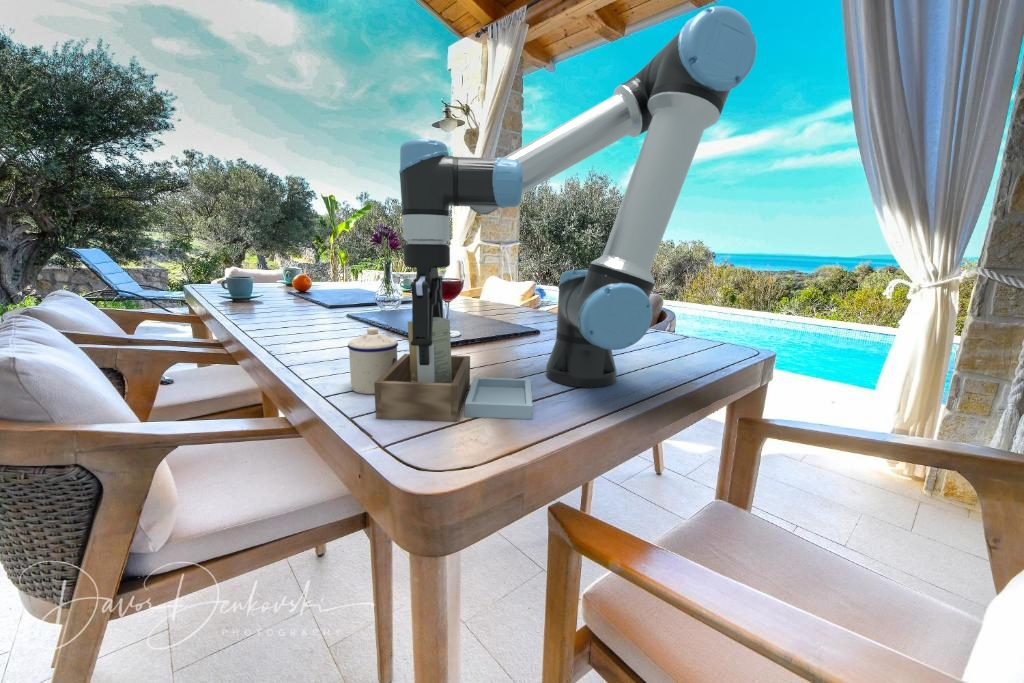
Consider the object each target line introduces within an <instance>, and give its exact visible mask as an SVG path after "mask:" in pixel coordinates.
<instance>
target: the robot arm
mask: <svg viewBox="0 0 1024 683" xmlns="http://www.w3.org/2000/svg"><path fill="white" fill-rule="evenodd" d="M750 23H751V22H749V20H748V19H747V18H746V17H745V16H744V15H743V14H742V13H741V12H739V11H738V10H737V9H734V8H732V7H729V6H724V5H715V6H711V7H708V8H705V9H703V10H702V11H699V13H697V14H696V15H695V16H693V17H692V18H690V19H688V20H687V21H686V22H685V24H684V25H683V26H682V28H681V29H680V30H679V32H678V33H676V34H675V36H674V37H673V38H671V40H669V41H668V43H666V45H664V46H663V47H662V48H661V49H660V50H659V51H658V52H657V53H656V54H655V55H654V56H653V57H652V58H651V60H650V61H648V63H647V64H645V66H643V67H642V68H641V69H640V70H639V71H637V73H636V74H634V75H633V76H632V77H630V78H629V79H628V80H627V81H625V82H623V83H621V84H619V85H618V86H616V87H615V89H614V91H613V94H612V96H610V97H608V98H607V99H605V100H603V101H602V102H599V103H597V104H596V105H594V106H592V107H591V108H588V109H587V110H585V111H584V112H582V113H580V114H578V115H576V116H574V117H573V118H571V119H569V120H567V121H565V122H563V123H562V124H560V125H559V126H556V127H555V128H553V129H551V130H549V131H548V132H546V133H544V134H542V135H541V136H539V137H537V138H535V139H534V140H532V141H530V142H528V143H526V144H525V145H523V146H520V147H519V148H518V149H516V150H514V151H512V152H510V153H509V154H507V155H505V156H504V157H502V156H498V157H474V156H472V157H465V156H464V157H463V156H462V157H461V156H453V155H450V153H449V152H448V146H447V145H446V144H445V143H444V142H442V141H441V140H437V139H429V138H413V139H412V138H411V139H408V140H405V141H404V142H403V143H402V144H401V146H400V150H399V151H400V152H399V155H400V156H399V157H400V158H399V161H400V162H399V167H400V168H399V171H398V173H399V180H400V181H399V182H400V196H401V197H400V198H401V215H402V221H401V222H399V228H402V236H403V240H404V241H407V244H404V246H403V262H404V266H405V267H406V268H412V269H413V268H415V269H416V274H415V275H416V278H414V279H413V281H411V282H410V288H411V298H412V299H411V302H412V303H411V304H412V305H411V308H412V312H411V313H412V315H411V317H412V318H411V321H412V330H413V339H412V341H411V346H416V348H417V373H418V382H425V383H434V382H435V372H434V344H432V326H433V317H440V318H444V306H443V305H444V302H443V276H442V275H439V270H438V269H442V268H443V269H445V268H448V267H449V266H450V265H451V256H450V254H451V253H450V252H451V250H450V248H451V247H450V246H449V245H448V244H447V242H449V241H450V239H451V237H450V236H451V234H450V233H451V231H450V230H451V229H450V212H449V208H450V207H451V206H452V207H469V209H471V210H472V211H473V212H475V213H477V214H481V215H488V214H491V213H493V212H495V211H497V210H498V209H499V208H500V209H505V208H516V207H518V206H519V205H520V204H521V201H522V197H523V194H525V193H526V192H529V191H530V190H532V189H533V188H535V187H537V186H539V185H541V184H543V183H544V182H546V181H548V180H550V179H552V178H553V177H554V176H557V175H559V174H561V173H562V172H564V171H566V170H568V169H570V168H571V167H573V166H575V165H577V164H579V163H580V162H583V161H584V160H586V159H588V158H589V157H591V156H593V155H594V154H597V153H598V152H600V151H602V150H603V149H605V148H607V147H609V146H611V145H613V144H614V143H617V142H618V141H619V140H621V139H623V138H625V137H627V136H629V137H631V138H636V137H639V136H640V135H642V134H644V133H645V136H644V139H643V142H642V146H641V147H640V150H639V154H638V155H637V158H636V162H635V164H634V167H633V170H632V173H631V175H630V178H629V182H628V184H627V186H626V189H625V192H624V195H623V198H622V201H621V203H620V206H619V208H618V212H617V214H616V217H615V220H614V222H613V226H612V228H611V230H610V234H609V236H608V239H607V242H606V245H605V248H604V251H603V253H602V255H601V256H600V257H598V258H596V259H594V260H593V261H591V262H590V263H589V266H588V269H571V270H566V271H563V272H561V273H560V274H561V275H560V278H559V283H558V286H557V287H558V300H557V301H558V302H557V318H556V337H555V342H554V345H553V347H552V350H551V353H550V356H549V358H548V359H547V360H548V361H547V363H546V369H545V370H546V371H545V375H546V377H547V378H548V379H549V380H551V381H552V382H555V383H558V384H560V385H565V386H570V387H577V388H602V387H603V388H604V387H607V386H610V385H613V384H614V383H615V382H616V381H617V378H616V377H617V366H616V363H615V360H614V359H615V358H614V355H613V354H614V353H613V351H618V350H623V349H626V348H629V347H631V346H634V345H635V344H636V343H638V342H639V341H640V340H641V339H642V338H644V337H645V335H646V334H647V332H648V331H649V329H650V326H651V323H652V321H653V314H654V312H653V311H654V310H653V306H652V303H651V300H650V296H651V295H652V291H653V288H654V286H655V283H656V281H655V280H654V279H655V278H654V277H653V274H652V273H651V268H652V265H653V263H654V260H655V258H656V256H657V253H658V250H659V248H660V245H661V242H662V240H663V238H664V235H665V231H666V230H667V227H668V224H669V223H670V219H671V217H672V214H673V211H674V209H675V207H676V203H677V201H678V198H679V196H680V193H681V191H682V188H683V186H684V183H685V180H686V177H687V175H688V172H689V170H690V168H691V165H692V162H693V160H694V157H695V154H696V151H697V150H698V146H699V144H700V142H701V139H702V136H703V134H704V131H705V130H707V129H708V128H711V127H712V126H714V125H715V124H717V123H718V121H719V119H720V117H721V114H722V111H723V109H724V106H725V105H726V102H727V98H728V96H729V94H730V92H731V90H733V89H734V88H737V87H738V86H740V84H741V83H743V81H744V80H745V78H747V76H748V75H749V74H750V72H751V71H752V68H753V66H754V63H755V60H756V57H757V40H756V36H755V34H754V33H753V31H752V28H751V27H752V25H751V24H750ZM420 336H423V337H420Z"/></svg>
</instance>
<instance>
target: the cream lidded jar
mask: <svg viewBox="0 0 1024 683" xmlns="http://www.w3.org/2000/svg"><path fill="white" fill-rule="evenodd" d="M398 346H399V343H398V340H397V339H395V338H394V337H391V336H388V335H385V334H384V333H382V332H379V328H377V327H369V328H367V330H366V333H363V334H361V335H360V336H359V337H356V338H352V339H351V340H349V342H348V344H347V348H348V353H349V370H350V388H351V390H352V391H354V392H356V393H357V394H362V395H375V387H374V383H375V382H376V381H377V380H378V379H379V378H380V377H381V376H382V375H383V374H384V373H385V372H386V371H387V370H388V369H389V368H390V367H391V366H392V365H393V364H395V363H396V362H397V361H398Z"/></svg>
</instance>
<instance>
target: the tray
mask: <svg viewBox="0 0 1024 683" xmlns="http://www.w3.org/2000/svg"><path fill="white" fill-rule="evenodd" d="M531 386H532V385H531V379H530V378H507V377H505V378H504V377H503V378H502V377H483V376H482V377H481V376H480V377H479V376H473V378H472V382H471V383H470V386H469V389H468V392H467V395H466V398H465V401H464V417H466V418H490V419H495V418H496V419H514V420H516V419H517V420H532V419H533V398H532V388H531Z"/></svg>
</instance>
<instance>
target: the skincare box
mask: <svg viewBox="0 0 1024 683" xmlns="http://www.w3.org/2000/svg"><path fill="white" fill-rule="evenodd" d="M407 333H408V349H409V350H408V351H409V352H408V354H410V369H411V382H418V373H417V348H416V346H411V341H412V339H413V330H412V320H407ZM420 337H423V336H420ZM432 344H434V372H435V382H434V383H452V366H451V355H452V346H451V345H452V344H451V319H449V318H444V317H443V318H440V317H433V326H432Z"/></svg>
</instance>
